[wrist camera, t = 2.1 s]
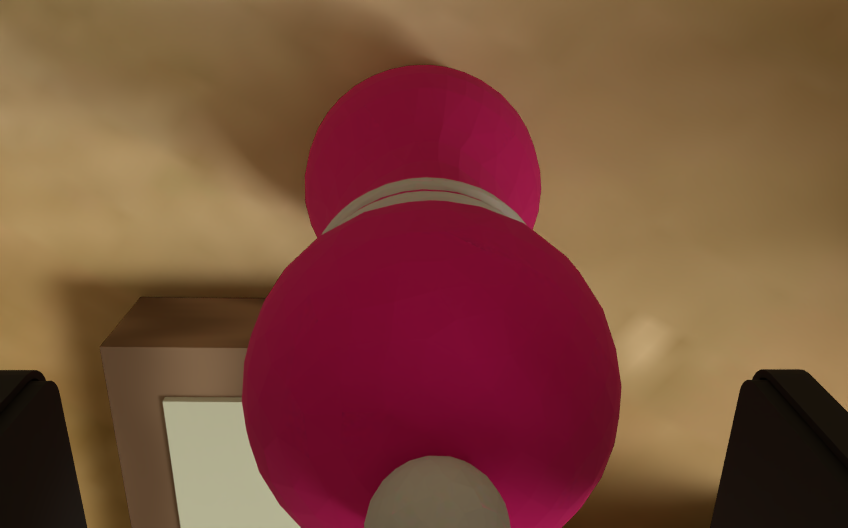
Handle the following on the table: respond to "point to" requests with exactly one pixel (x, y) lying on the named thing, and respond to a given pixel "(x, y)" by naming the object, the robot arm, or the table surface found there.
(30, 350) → the table surface
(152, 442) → the walnut frame
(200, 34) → the table surface
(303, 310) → the pepper mill
